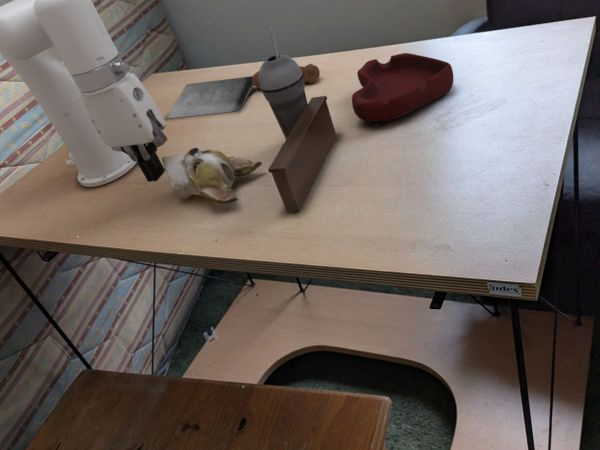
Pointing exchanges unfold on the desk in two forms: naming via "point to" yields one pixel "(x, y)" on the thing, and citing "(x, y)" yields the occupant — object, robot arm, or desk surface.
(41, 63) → the robot arm
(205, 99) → the meat cleaver
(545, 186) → the desk surface
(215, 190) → the ceramic sculpture
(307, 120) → the backboard
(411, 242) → the desk surface
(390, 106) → the ashtray
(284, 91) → the beverage cup
